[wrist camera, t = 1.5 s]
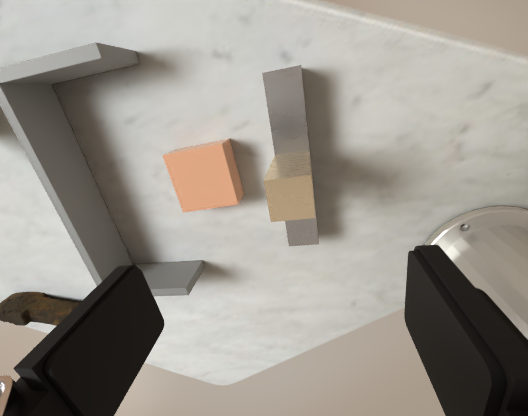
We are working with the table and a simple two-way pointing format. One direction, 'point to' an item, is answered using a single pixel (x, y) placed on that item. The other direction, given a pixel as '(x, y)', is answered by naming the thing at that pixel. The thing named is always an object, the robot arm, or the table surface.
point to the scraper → (290, 157)
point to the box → (77, 161)
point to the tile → (205, 176)
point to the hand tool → (34, 309)
